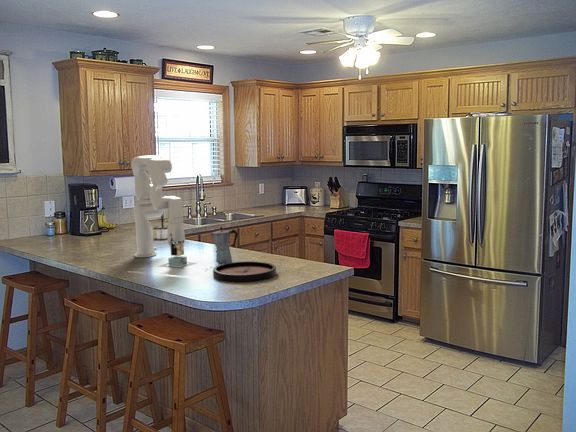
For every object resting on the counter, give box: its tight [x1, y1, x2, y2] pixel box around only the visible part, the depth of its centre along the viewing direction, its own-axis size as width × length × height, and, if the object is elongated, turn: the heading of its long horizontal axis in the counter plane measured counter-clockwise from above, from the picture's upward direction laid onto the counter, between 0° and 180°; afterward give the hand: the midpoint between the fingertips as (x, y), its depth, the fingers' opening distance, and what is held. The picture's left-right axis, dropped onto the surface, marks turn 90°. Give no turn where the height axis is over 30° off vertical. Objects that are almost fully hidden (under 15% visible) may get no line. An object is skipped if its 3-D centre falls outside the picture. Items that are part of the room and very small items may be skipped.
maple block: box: [170, 242, 185, 257], centre depth 301 cm, size 5×5×6 cm
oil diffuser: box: [153, 214, 168, 240], centre depth 398 cm, size 26×24×17 cm
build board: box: [157, 261, 198, 269], centre depth 302 cm, size 15×16×1 cm
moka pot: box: [209, 226, 239, 265], centre depth 309 cm, size 10×15×20 cm, turn 111°
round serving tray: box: [212, 260, 277, 284], centre depth 280 cm, size 31×4×31 cm
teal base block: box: [168, 255, 188, 266], centre depth 302 cm, size 7×7×4 cm
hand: (177, 253), depth 302 cm, fingers closed on maple block, 4 cm apart
